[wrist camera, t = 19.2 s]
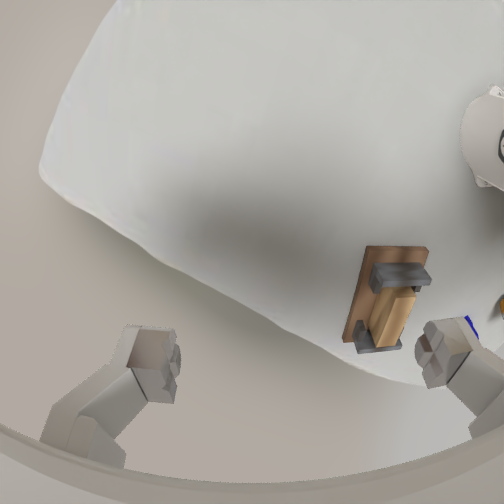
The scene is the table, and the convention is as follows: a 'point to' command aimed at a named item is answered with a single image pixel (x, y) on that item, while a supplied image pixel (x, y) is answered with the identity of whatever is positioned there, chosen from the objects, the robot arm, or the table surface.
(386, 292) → the top rail
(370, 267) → the wooden clamp fixture
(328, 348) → the table surface
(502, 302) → the spray gun
